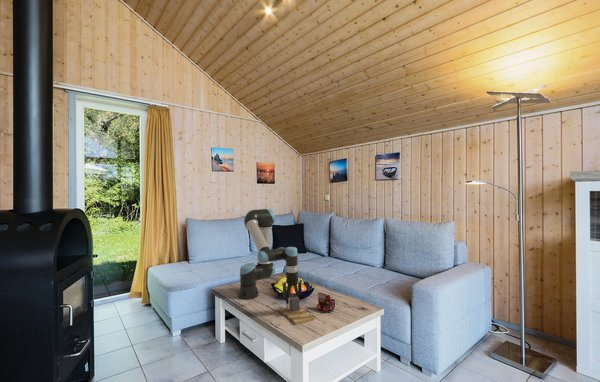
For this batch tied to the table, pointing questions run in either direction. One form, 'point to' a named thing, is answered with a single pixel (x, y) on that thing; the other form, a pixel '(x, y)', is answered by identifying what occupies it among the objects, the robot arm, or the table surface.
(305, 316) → the board
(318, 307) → the toy fire truck
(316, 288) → the table surface
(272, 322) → the table surface
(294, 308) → the block
